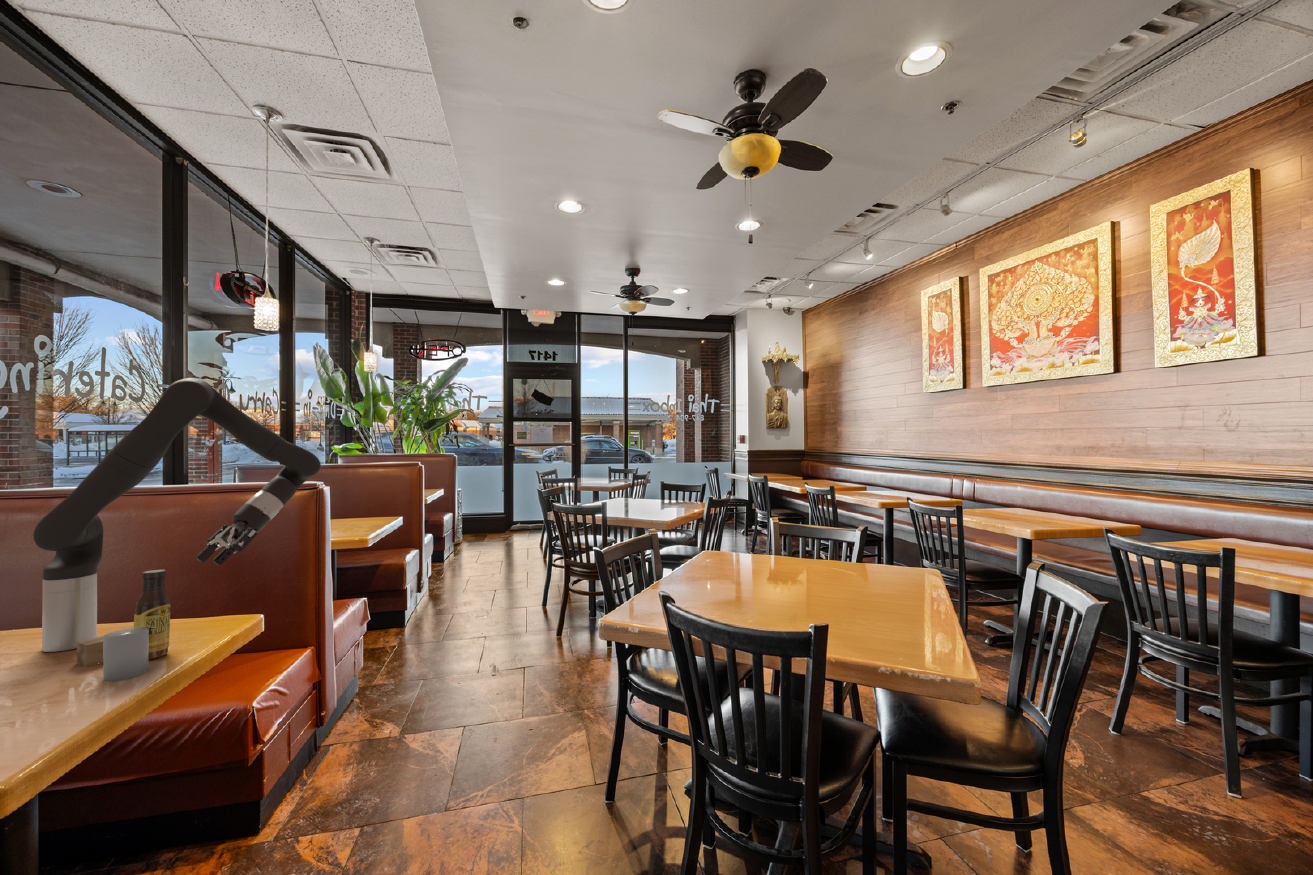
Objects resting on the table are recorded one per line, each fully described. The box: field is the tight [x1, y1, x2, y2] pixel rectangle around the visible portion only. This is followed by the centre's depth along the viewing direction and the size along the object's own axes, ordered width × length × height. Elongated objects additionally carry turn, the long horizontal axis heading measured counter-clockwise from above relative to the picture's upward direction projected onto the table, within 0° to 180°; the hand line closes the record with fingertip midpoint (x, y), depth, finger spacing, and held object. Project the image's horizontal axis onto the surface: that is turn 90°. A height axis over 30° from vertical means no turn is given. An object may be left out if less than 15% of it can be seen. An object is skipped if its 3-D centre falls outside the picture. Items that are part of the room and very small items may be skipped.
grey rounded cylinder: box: [102, 627, 150, 682], centre depth 116 cm, size 7×7×9 cm
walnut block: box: [76, 635, 104, 668], centre depth 124 cm, size 5×5×5 cm
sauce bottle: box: [133, 569, 172, 660], centre depth 126 cm, size 7×6×20 cm
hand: (207, 561), depth 136 cm, fingers open, 8 cm apart
